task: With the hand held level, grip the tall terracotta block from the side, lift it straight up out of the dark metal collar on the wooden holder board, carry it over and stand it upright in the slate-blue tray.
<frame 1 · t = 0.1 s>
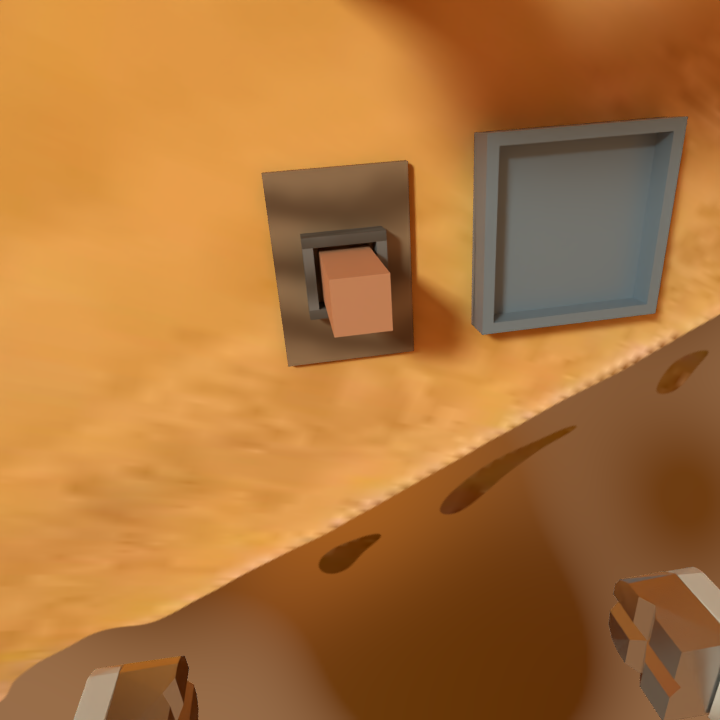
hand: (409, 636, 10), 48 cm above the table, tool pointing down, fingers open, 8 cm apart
terracotta block: (344, 270, 55), point 1 cm above the table, touching holder
tray: (562, 225, 58), on the table
holder: (343, 267, 56), on the table
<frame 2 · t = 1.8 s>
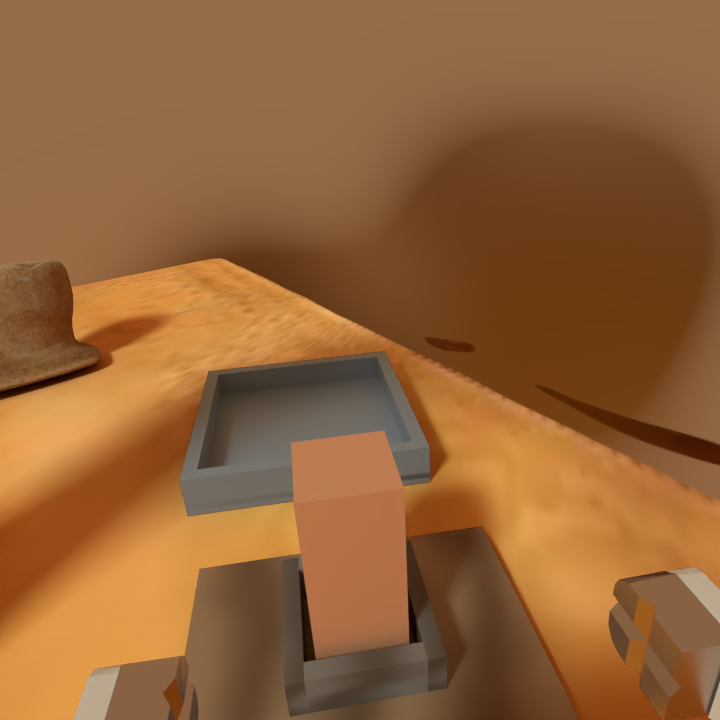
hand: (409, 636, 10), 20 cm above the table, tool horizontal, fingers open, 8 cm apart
terracotta block: (358, 633, 31), point 1 cm above the table, touching holder
stone cup: (39, 376, 71), on the table
tray: (305, 434, 53), on the table
holder: (359, 645, 32), on the table
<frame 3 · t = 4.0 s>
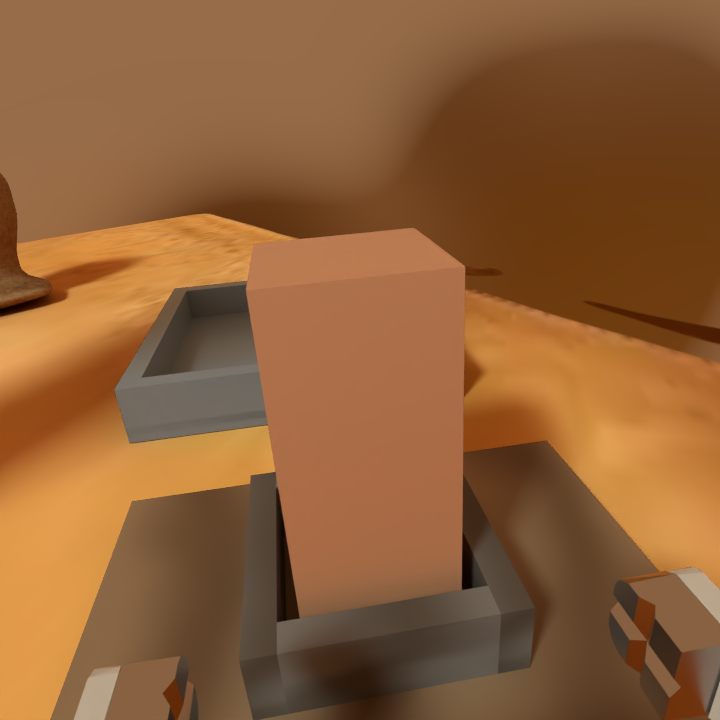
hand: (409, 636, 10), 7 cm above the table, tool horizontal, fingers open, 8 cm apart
terracotta block: (372, 583, 19), point 1 cm above the table, touching holder
tray: (295, 354, 41), on the table
holder: (373, 603, 20), on the table
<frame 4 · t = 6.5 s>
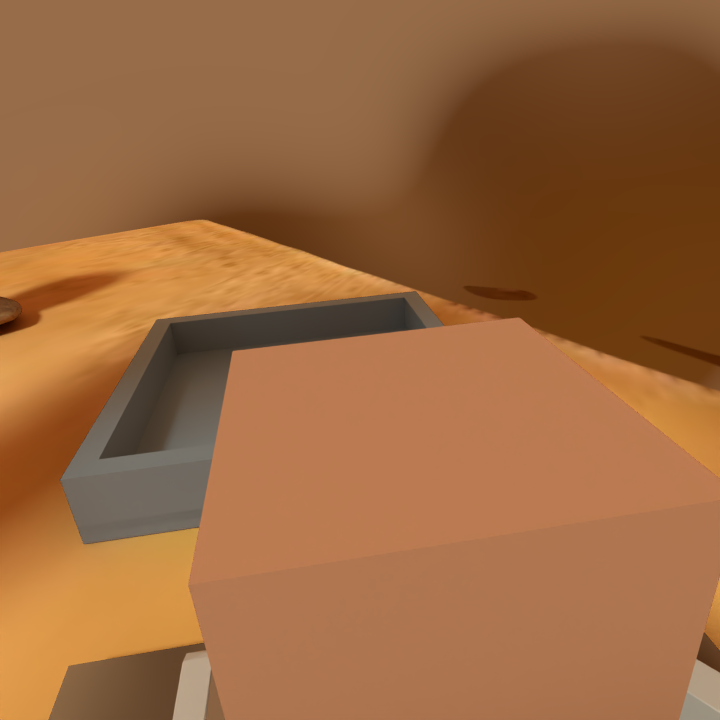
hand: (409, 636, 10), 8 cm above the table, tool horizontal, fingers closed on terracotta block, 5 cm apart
tray: (299, 406, 34), on the table
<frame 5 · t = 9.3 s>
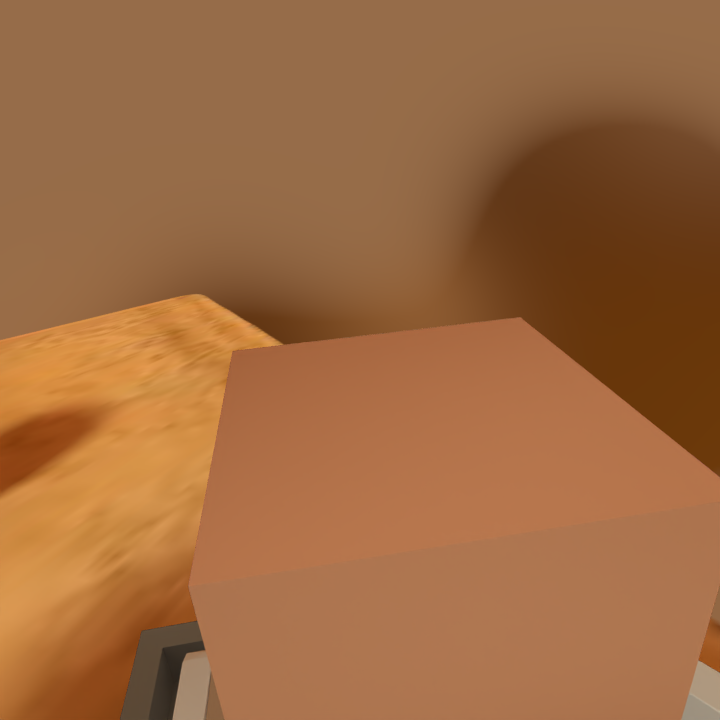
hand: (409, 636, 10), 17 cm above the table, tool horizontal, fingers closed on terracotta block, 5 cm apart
when the fingers open (8 cm above the table, at t = 12.1 s): terracotta block stays where it is, resting on tray.
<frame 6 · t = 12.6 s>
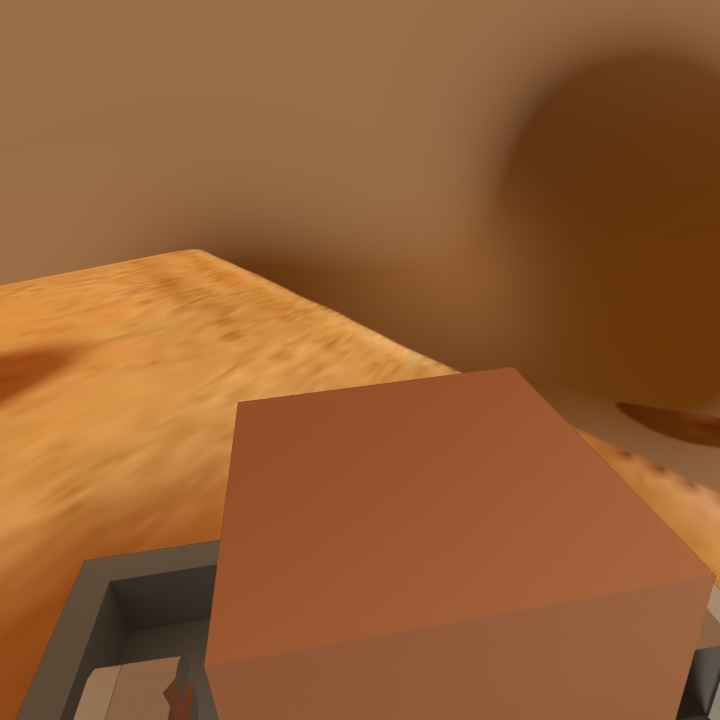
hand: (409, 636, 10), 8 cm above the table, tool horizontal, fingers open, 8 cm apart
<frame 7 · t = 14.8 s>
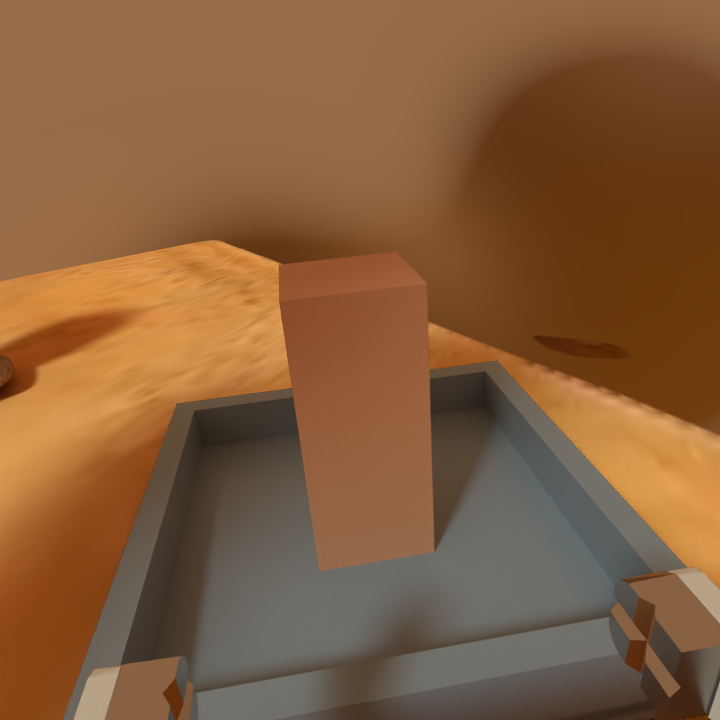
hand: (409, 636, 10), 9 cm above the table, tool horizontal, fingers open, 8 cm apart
terracotta block: (368, 522, 25), point 1 cm above the table, touching tray
tray: (370, 538, 26), on the table
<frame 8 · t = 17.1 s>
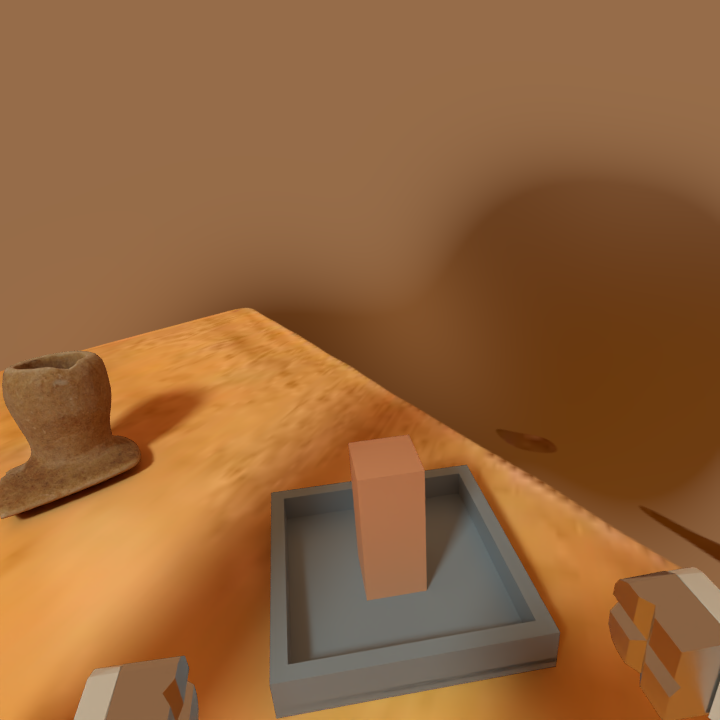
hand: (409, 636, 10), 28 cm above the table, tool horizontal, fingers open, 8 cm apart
terracotta block: (391, 572, 46), point 1 cm above the table, touching tray
stone cup: (74, 478, 64), on the table
tray: (391, 580, 47), on the table
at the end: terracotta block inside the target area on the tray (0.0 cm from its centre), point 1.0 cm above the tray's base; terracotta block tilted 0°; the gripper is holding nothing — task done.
